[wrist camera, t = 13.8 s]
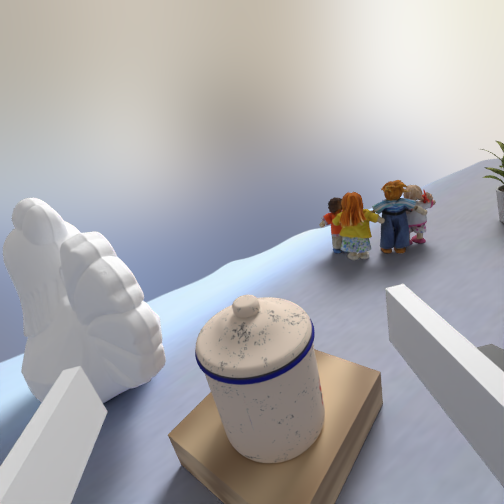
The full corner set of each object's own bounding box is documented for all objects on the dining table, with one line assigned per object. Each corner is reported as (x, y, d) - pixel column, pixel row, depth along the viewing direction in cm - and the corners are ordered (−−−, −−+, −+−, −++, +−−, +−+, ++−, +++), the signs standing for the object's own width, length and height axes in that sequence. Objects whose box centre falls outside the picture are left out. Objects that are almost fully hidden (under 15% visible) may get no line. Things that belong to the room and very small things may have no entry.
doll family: (432, 234, 61) (433, 167, 56) (454, 255, 52) (457, 177, 47) (322, 249, 66) (314, 188, 61) (326, 270, 57) (316, 201, 52)
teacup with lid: (352, 413, 25) (335, 290, 21) (267, 498, 21) (224, 366, 17) (262, 349, 35) (238, 255, 31) (191, 399, 30) (151, 297, 26)
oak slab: (382, 403, 30) (380, 371, 29) (301, 573, 20) (291, 538, 19) (275, 359, 39) (269, 333, 37) (181, 464, 29) (167, 434, 27)
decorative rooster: (40, 380, 45) (-61, 218, 36) (143, 324, 53) (83, 180, 44) (69, 528, 26) (-132, 260, 17) (223, 405, 34) (146, 179, 25)
